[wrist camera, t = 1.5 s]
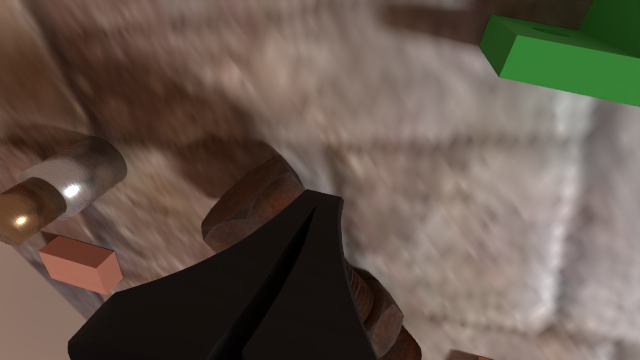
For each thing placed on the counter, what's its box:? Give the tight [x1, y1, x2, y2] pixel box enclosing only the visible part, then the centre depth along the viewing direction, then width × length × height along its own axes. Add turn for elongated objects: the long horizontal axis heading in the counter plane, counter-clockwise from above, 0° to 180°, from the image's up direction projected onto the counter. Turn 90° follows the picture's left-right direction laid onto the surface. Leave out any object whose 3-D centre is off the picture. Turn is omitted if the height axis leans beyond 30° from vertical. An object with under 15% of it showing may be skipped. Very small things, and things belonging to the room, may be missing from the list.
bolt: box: [201, 157, 422, 360], centre depth 19 cm, size 6×5×15 cm
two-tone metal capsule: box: [0, 137, 127, 246], centre depth 19 cm, size 3×3×6 cm
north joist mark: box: [38, 236, 123, 295], centre depth 27 cm, size 3×5×2 cm, turn 85°
